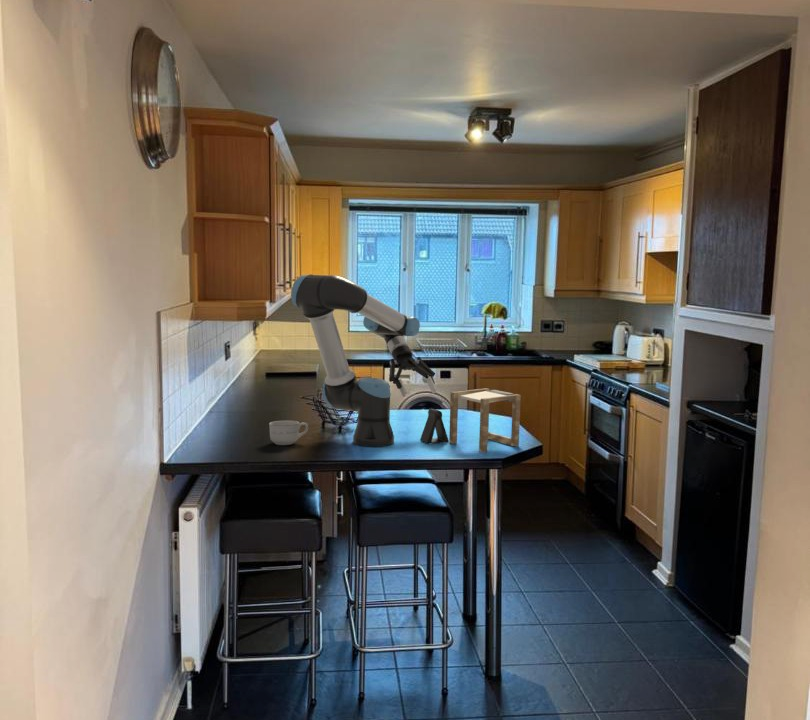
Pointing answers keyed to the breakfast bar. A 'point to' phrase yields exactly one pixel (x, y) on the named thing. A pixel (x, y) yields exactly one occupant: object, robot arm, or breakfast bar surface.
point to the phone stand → (434, 423)
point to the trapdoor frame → (486, 419)
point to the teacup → (286, 432)
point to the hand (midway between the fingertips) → (420, 393)
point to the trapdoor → (486, 395)
